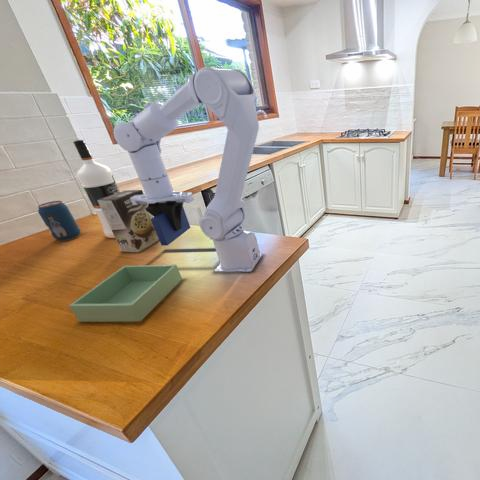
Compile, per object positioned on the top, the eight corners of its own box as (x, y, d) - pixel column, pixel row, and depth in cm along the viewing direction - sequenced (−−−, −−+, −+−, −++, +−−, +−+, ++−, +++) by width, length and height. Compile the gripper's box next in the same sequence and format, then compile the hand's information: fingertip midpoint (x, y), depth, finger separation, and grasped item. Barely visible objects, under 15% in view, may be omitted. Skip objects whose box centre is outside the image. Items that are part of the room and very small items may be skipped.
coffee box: (139, 252, 84) (114, 200, 76) (121, 252, 85) (95, 200, 77) (163, 238, 91) (142, 189, 84) (146, 237, 93) (124, 189, 85)
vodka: (108, 232, 99) (61, 141, 85) (139, 224, 103) (100, 136, 89) (104, 242, 92) (53, 144, 78) (138, 233, 96) (95, 139, 82)
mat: (231, 249, 82) (231, 247, 82) (214, 268, 73) (213, 267, 73) (165, 250, 84) (164, 249, 84) (141, 270, 75) (140, 268, 75)
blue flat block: (190, 227, 79) (182, 203, 75) (167, 245, 70) (156, 219, 67) (185, 227, 79) (176, 203, 76) (161, 245, 70) (150, 219, 67)
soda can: (79, 231, 102) (60, 198, 96) (85, 235, 98) (66, 201, 92) (53, 239, 97) (32, 205, 91) (58, 244, 93) (37, 209, 87)
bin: (183, 280, 69) (176, 264, 67) (141, 323, 57) (131, 305, 55) (132, 281, 70) (124, 265, 68) (80, 323, 58) (68, 305, 56)
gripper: (111, 183, 64) (136, 237, 71) (172, 180, 63) (192, 235, 69) (134, 174, 70) (155, 225, 77) (190, 172, 69) (207, 223, 75)
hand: (174, 229), depth 73 cm, fingers closed on blue flat block, 2 cm apart
